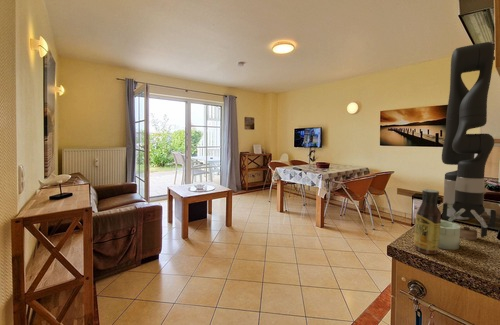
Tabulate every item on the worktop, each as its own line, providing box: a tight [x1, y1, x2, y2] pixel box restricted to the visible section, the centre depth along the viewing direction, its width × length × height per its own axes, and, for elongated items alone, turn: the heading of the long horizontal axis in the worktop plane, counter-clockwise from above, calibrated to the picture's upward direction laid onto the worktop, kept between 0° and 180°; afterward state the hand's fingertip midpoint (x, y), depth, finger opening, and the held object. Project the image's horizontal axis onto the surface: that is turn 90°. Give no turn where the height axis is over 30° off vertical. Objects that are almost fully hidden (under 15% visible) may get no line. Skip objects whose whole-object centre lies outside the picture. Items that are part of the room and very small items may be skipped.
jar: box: [438, 219, 461, 251], centre depth 78 cm, size 9×9×7 cm
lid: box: [460, 226, 478, 241], centre depth 84 cm, size 6×6×4 cm
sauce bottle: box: [413, 188, 442, 255], centre depth 73 cm, size 7×6×20 cm
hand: (466, 233), depth 84 cm, fingers open, 7 cm apart
